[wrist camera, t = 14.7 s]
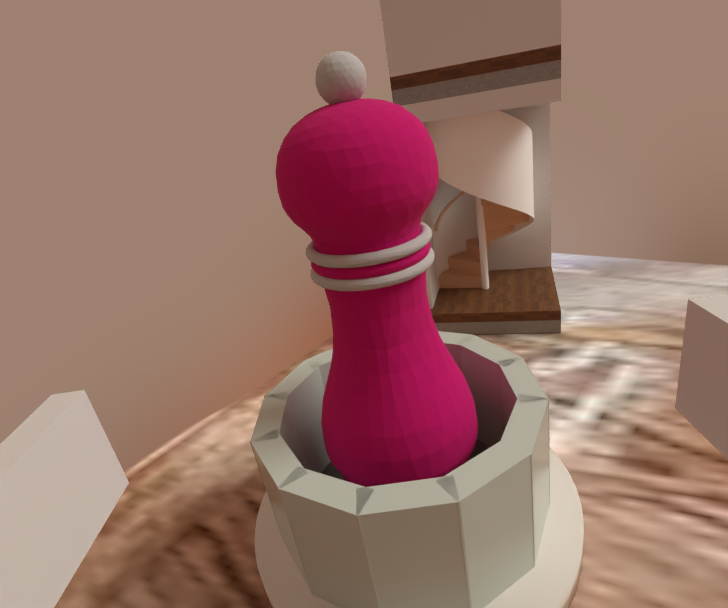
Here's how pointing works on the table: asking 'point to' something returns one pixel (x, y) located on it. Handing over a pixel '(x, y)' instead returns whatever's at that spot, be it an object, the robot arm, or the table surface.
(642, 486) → the table surface
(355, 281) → the pepper mill
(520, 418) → the well
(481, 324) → the spiral stair tower
